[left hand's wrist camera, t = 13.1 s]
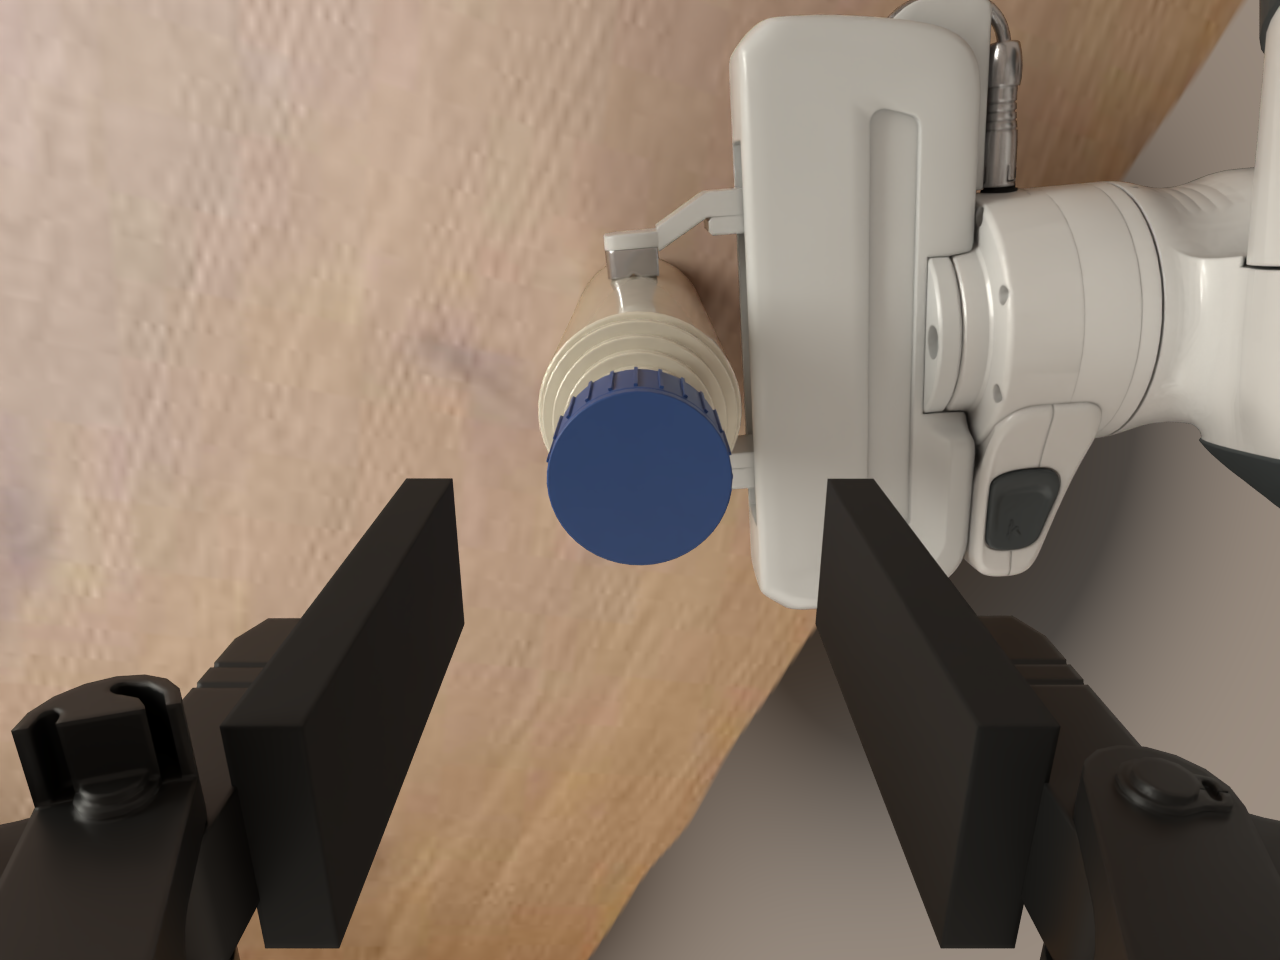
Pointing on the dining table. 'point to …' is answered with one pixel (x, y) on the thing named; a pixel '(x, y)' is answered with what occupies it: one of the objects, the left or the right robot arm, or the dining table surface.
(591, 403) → the cap
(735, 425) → the bottle
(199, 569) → the dining table surface
